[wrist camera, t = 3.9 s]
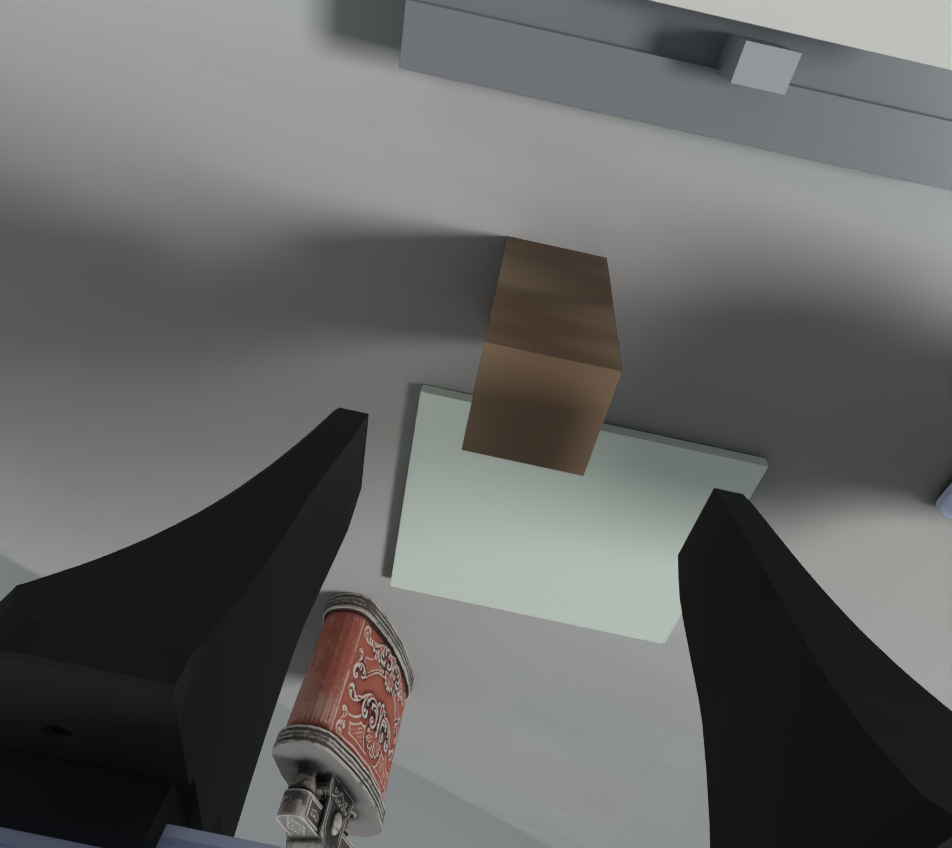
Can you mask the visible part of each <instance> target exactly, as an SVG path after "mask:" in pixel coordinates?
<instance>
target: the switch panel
mask: <svg viewBox="0 0 952 848" xmlns="http://www.w3.org/2000/svg"><path fill="white" fill-rule="evenodd" d="M399 68H402V69H406V70H411V71H415V72H420V73H424V74H429V75H433V76H438V77H442V78H447V79H451V80H456V81H460V82H465V83H469V84H474V85H478V86H483V87H487V88H492V89H496V90H501V91H505V92H510V93H514V94H519V95H523V96H528V97H532V98H537V99H541V100H546V101H550V102H555V103H559V104H564V105H568V106H573V107H577V108H582V109H586V110H591V111H595V112H600V113H604V114H609V115H613V116H618V117H622V118H627V119H631V120H636V121H640V122H644V123H649V124H653V125H658V126H662V127H667V128H671V129H676V130H680V131H685V132H689V133H694V134H698V135H703V136H707V137H712V138H716V139H721V140H725V141H730V142H734V143H739V144H743V145H748V146H752V147H757V148H761V149H766V150H770V151H775V152H779V153H784V154H788V155H793V156H797V157H802V158H806V159H811V160H815V161H820V162H824V163H829V164H833V165H838V166H842V167H847V168H851V169H856V170H860V171H865V172H869V173H874V174H878V175H883V176H887V177H892V178H896V179H901V180H905V181H910V182H914V183H919V184H923V185H928V186H932V187H937V188H941V189H946V190H950V191H952V70H949V69H945V68H940V67H936V66H932V65H927V64H923V63H919V62H914V61H910V60H906V59H901V58H897V57H893V56H888V55H884V54H880V53H875V52H871V51H867V50H862V49H858V48H854V47H849V46H845V45H841V44H836V43H832V42H828V41H823V40H819V39H815V38H811V37H806V36H802V35H798V34H793V33H789V32H785V31H780V30H776V29H772V28H767V27H763V26H759V25H754V24H750V23H746V22H741V21H737V20H733V19H728V18H724V17H720V16H715V15H711V14H707V13H702V12H698V11H694V10H690V9H685V8H681V7H677V6H672V5H668V4H664V3H659V2H655V1H651V0H406V2H405V13H404V23H403V33H402V44H401V54H400V64H399Z"/></svg>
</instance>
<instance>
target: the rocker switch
mask: <svg viewBox="0 0 952 848" xmlns="http://www.w3.org/2000/svg"><path fill="white" fill-rule="evenodd" d="M651 1H655V2H659V3H664V4H668V5H672V6H677V7H681V8H685V9H690V10H694V11H698V12H702V13H707V14H711V15H715V16H720V17H724V18H728V19H733V20H737V21H741V22H746V23H750V24H754V25H759V26H763V27H767V28H772V29H776V30H780V31H785V32H789V33H793V34H798V35H802V36H806V37H811V38H815V39H819V40H823V41H828V42H832V43H836V44H841V45H845V46H849V47H854V48H858V49H862V50H867V51H871V52H875V53H880V54H884V55H888V56H893V57H897V58H901V59H906V60H910V61H914V62H919V63H923V64H927V65H932V66H936V67H940V68H945V69H949V70H952V0H651Z"/></svg>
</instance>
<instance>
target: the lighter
mask: <svg viewBox="0 0 952 848" xmlns="http://www.w3.org/2000/svg"><path fill="white" fill-rule="evenodd" d="M322 621H323V628H322V631H321V633H320V636H319V639H318V641H317V644H316V647H315V650H314V652H313V655H312V658H311V660H310V663H309V666H308V669H307V671H306V674H305V677H304V680H303V682H302V685H301V688H300V690H299V693H298V696H297V699H296V701H295V704H294V707H293V709H292V712H291V715H290V718H289V720H288V723H287V726H286V727H285V728H283V729H282V730H281V731H280V732H279V734H278V737H277V739H276V742H275V745H274V747H273V750H272V754H273V757H274V759H275V761H276V764H277V766H278V768H279V770H280V772H281V775H282V776H283V778H284V779H285V780H286V782H287V783H288V785H289V787H288V789H287V790H285V793H284V796H283V799H282V802H281V804H280V808H279V811H278V814H277V816H276V820H277V821H278V822H279V824H280V825H281V826H282V827H283V828H284V829H285V830H286V834H287V840H286V848H354V847H353V845H352V844H351V843H350V841H349V840H348V839H347V836H348V835H351V836H359V837H367V836H373V835H377V834H378V833H380V832H381V830H382V825H383V821H384V816H385V807H384V804H383V801H384V796H385V791H386V787H387V782H388V778H389V773H390V769H391V764H392V760H393V755H394V750H395V746H396V741H397V737H398V732H399V728H400V723H401V718H402V714H403V709H404V705H405V701H406V700H407V699H408V698H409V697H410V694H411V690H412V685H413V680H414V677H413V672H412V667H411V662H410V659H409V656H408V654H407V651H406V649H405V646H404V643H403V641H402V640H401V638H400V636H399V635H398V633H397V631H396V630H395V628H394V626H393V625H392V623H391V622H390V620H389V619H388V618H387V617H386V615H385V614H384V613H383V612H382V610H381V609H380V608H379V606H378V605H377V604H376V603H375V602H374V601H373V600H372V599H371V598H369V597H366V596H364V595H362V594H357V593H340V594H336V595H334V596H333V597H331V598H330V600H329V601H328V603H327V605H326V608H325V611H324V614H323V617H322Z"/></svg>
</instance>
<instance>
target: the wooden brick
mask: <svg viewBox="0 0 952 848" xmlns="http://www.w3.org/2000/svg"><path fill="white" fill-rule="evenodd" d="M621 374H622V367H621V360H620V352H619V345H618V338H617V330H616V323H615V315H614V308H613V301H612V293H611V286H610V278H609V271H608V264H607V258H604V257H600V256H595V255H590V254H586V253H581V252H577V251H572V250H568V249H563V248H559V247H554V246H549V245H545V244H540V243H536V242H531V241H527V240H522V239H518V238H513V237H509V236H507V241H506V246H505V250H504V255H503V259H502V264H501V269H500V273H499V278H498V282H497V287H496V292H495V296H494V301H493V305H492V310H491V315H490V319H489V324H488V329H487V333H486V338H485V342H484V347H483V352H482V356H481V361H480V366H479V370H478V375H477V380H476V384H475V389H474V393H473V398H472V403H471V407H470V412H469V417H468V421H467V426H466V431H465V435H464V440H463V445H462V449H461V450H464V451H469V452H473V453H478V454H483V455H487V456H492V457H497V458H501V459H506V460H511V461H515V462H520V463H524V464H529V465H534V466H538V467H543V468H548V469H552V470H557V471H562V472H566V473H571V474H576V475H580V476H584V473H585V470H586V468H587V465H588V462H589V460H590V457H591V454H592V451H593V449H594V446H595V443H596V441H597V438H598V435H599V433H600V430H601V427H602V425H603V422H604V419H605V417H606V414H607V411H608V408H609V406H610V403H611V400H612V398H613V395H614V392H615V390H616V387H617V384H618V382H619V379H620V376H621Z"/></svg>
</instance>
